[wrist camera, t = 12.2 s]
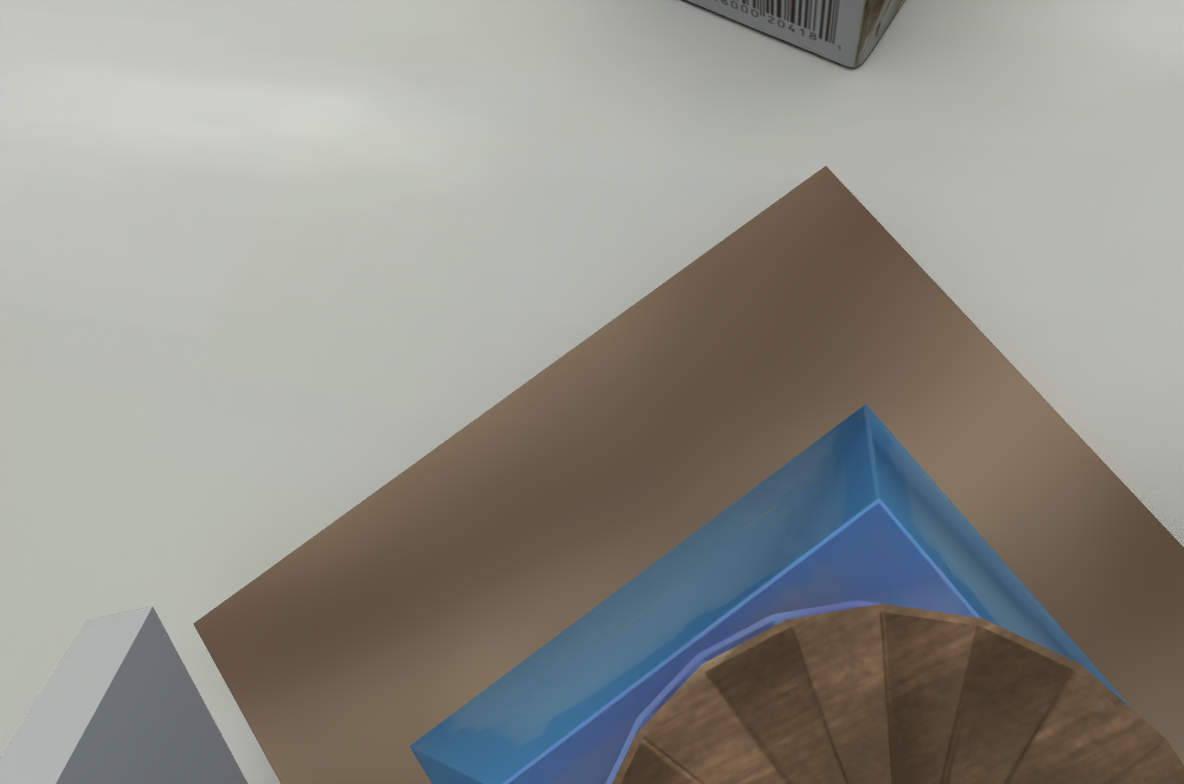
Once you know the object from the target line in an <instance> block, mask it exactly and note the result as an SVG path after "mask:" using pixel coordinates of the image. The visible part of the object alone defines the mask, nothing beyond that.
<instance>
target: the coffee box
mask: <svg viewBox="0 0 1184 784" xmlns="http://www.w3.org/2000/svg"><path fill="white" fill-rule="evenodd" d="M687 1H689V2H692V3H694V4H696V5H699V6H701V7H704V8H706V9H709V10H711V11H713V12H716V13H718V14H721V15H723V16H725V17H728V18H730V19H733V20H735V21H737V22H740V23H742V24H745V25H747V26H749V27H752V28H754V29H757V30H759V31H762V32H764V33H767V34H769V35H772V36H774V37H777V38H779V39H782V40H784V41H787V42H789V43H791V44H794V45H796V46H799V47H801V48H804V49H806V50H808V51H811V52H813V53H816V54H818V55H820V56H823V57H825V58H828V59H830V60H832V61H835V62H837V63H840V64H842V65H844V66H848V67H853V68H855V67H858V66H860V65H861V64H862V63H863V62H864V61H865V59H866V58H867V57H868V55H869V54H870V53H871V51H872V50H873V48H874V46H875V45H876V43H877V42H878V40H879V39H880V37H881V36H882V34H883V33H884V31H885V30H886V28H887V27H888V25H889V24H890V22H891V20H892V19H893V17H894V16H895V14H896V13H897V11H898V10H899V8H900V6H901V5H902V3H903V1H904V0H687Z"/></svg>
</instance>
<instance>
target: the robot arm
mask: <svg viewBox="0 0 1184 784" xmlns="http://www.w3.org/2000/svg"><path fill="white" fill-rule="evenodd" d="M0 784H248V783H247V781H246V780H245V778H244V776H243V774H242V772H241V770H240V768H239V766H238V765H237V763H236V761H235V759H234V757H233V755H232V753H231V752H230V750H229V748H228V746H227V744H226V742H225V740H224V738H223V737H222V735H221V733H220V731H219V729H218V727H217V725H216V724H215V722H214V720H213V718H212V716H211V714H210V712H209V710H208V709H207V707H206V705H205V703H204V701H203V699H202V697H201V696H200V694H199V692H198V690H197V688H196V686H195V684H194V682H193V681H192V679H191V677H190V675H189V673H188V671H187V669H186V668H185V666H184V664H183V662H182V660H181V658H180V656H179V655H178V653H177V651H176V649H175V647H174V645H173V643H172V641H171V640H170V638H169V636H168V634H167V632H166V630H165V628H164V627H163V625H162V623H161V621H160V619H159V617H158V615H157V613H156V612H155V610H154V608H153V606H152V607H148V608H143V609H138V610H133V611H128V612H124V613H119V614H114V615H109V616H105V617H100V618H95V619H90V620H86V622H85V623H84V625H83V627H82V628H81V630H80V631H79V633H78V635H77V636H76V638H75V639H74V641H73V643H72V644H71V646H70V647H69V649H68V651H67V652H66V654H65V655H64V657H63V659H62V660H61V662H60V663H59V665H58V667H57V668H56V670H55V671H54V673H53V675H52V676H51V678H50V679H49V681H48V683H47V684H46V686H45V687H44V689H43V691H42V692H41V694H40V695H39V697H38V699H37V700H36V702H35V703H34V705H33V707H32V708H31V710H30V711H29V713H28V715H27V716H26V718H25V720H24V721H23V723H22V724H21V726H20V728H19V729H18V731H17V732H16V734H15V736H14V737H13V739H12V740H11V742H10V744H9V745H8V747H7V748H6V750H5V752H4V753H3V755H2V756H1V758H0Z"/></svg>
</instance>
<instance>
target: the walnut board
mask: <svg viewBox="0 0 1184 784" xmlns="http://www.w3.org/2000/svg"><path fill="white" fill-rule="evenodd" d="M865 404H867V406H868V407H869V408H870V409H871V410H872V411H873V412H874V414H875V415H876V416H877V417H878V418H879V419H880V421H881V422H882V423H883V424H884V425H885V426H886V427H887V429H888V430H889V431H890V432H891V433H892V434H893V435H894V437H895V438H896V439H897V440H898V441H899V442H900V443H901V445H902V446H903V447H904V448H905V449H906V450H907V451H908V453H909V454H910V455H911V456H912V457H913V458H914V459H915V461H916V462H917V463H918V464H919V465H920V466H921V467H922V469H923V470H924V471H925V472H926V473H927V474H928V476H929V477H930V478H931V479H932V480H933V481H934V482H935V484H936V485H937V486H938V487H939V488H940V489H941V490H942V492H943V493H944V494H945V495H946V496H947V497H948V498H949V500H950V501H951V502H952V503H953V504H954V505H955V506H956V508H957V509H958V510H959V511H960V512H961V513H962V514H963V516H964V517H965V518H966V519H967V520H968V521H969V522H970V524H971V525H972V526H973V527H974V528H975V529H976V531H977V532H978V533H979V534H980V535H981V536H982V537H983V539H984V540H985V541H986V542H987V543H988V544H989V545H990V547H991V548H992V549H993V550H994V551H995V552H996V553H997V555H998V556H999V557H1000V558H1001V559H1002V560H1003V561H1004V563H1005V564H1006V565H1007V566H1008V567H1009V568H1010V569H1011V571H1012V572H1013V573H1014V574H1015V575H1016V576H1017V578H1018V579H1019V580H1020V581H1021V582H1022V583H1023V584H1024V586H1025V587H1026V588H1027V589H1028V590H1029V591H1030V592H1031V594H1032V595H1033V596H1034V597H1035V598H1036V599H1037V600H1038V602H1039V603H1040V604H1041V605H1042V606H1043V607H1044V608H1045V610H1046V611H1047V612H1048V613H1049V614H1050V615H1051V616H1052V618H1053V619H1054V620H1055V621H1056V622H1057V623H1058V624H1059V626H1060V627H1061V628H1062V629H1063V630H1064V631H1065V633H1066V634H1067V635H1068V636H1069V637H1070V638H1071V639H1072V641H1073V642H1074V643H1075V644H1076V645H1077V646H1078V647H1079V649H1080V650H1081V651H1082V652H1083V653H1084V654H1085V655H1086V657H1087V658H1088V659H1089V660H1090V661H1091V662H1092V663H1093V665H1094V666H1095V667H1096V668H1097V669H1098V670H1099V671H1100V673H1101V674H1102V675H1103V676H1104V677H1105V678H1106V679H1107V681H1108V682H1109V683H1110V684H1111V685H1112V686H1113V688H1114V689H1115V690H1116V691H1117V692H1118V693H1119V694H1120V696H1121V697H1122V698H1123V699H1124V700H1125V701H1126V702H1127V704H1128V705H1129V706H1130V707H1131V708H1132V709H1133V710H1134V711H1135V712H1136V713H1137V714H1138V715H1139V716H1140V717H1142V718H1143V719H1144V720H1145V721H1146V722H1147V723H1148V724H1150V725H1151V726H1152V727H1153V728H1154V729H1155V730H1156V731H1158V732H1159V733H1160V734H1161V735H1162V736H1163V737H1164V738H1166V739H1167V741H1168V742H1169V744H1170V745H1171V747H1172V748H1173V750H1174V751H1175V753H1176V754H1177V756H1178V757H1179V759H1180V760H1181V762H1182V763H1183V765H1184V547H1183V546H1182V545H1181V544H1180V543H1179V542H1178V541H1177V540H1176V539H1175V538H1174V537H1173V536H1172V535H1171V534H1170V532H1169V531H1168V530H1167V529H1166V528H1165V527H1164V526H1163V525H1162V524H1161V523H1160V522H1159V521H1158V520H1157V519H1156V518H1155V516H1154V515H1153V514H1152V513H1151V512H1150V511H1149V510H1148V509H1147V508H1146V507H1145V506H1144V505H1143V504H1142V503H1141V502H1140V500H1139V499H1138V498H1137V497H1136V496H1135V495H1134V494H1133V493H1132V492H1131V491H1130V490H1129V489H1128V488H1127V487H1126V486H1125V484H1124V483H1123V482H1122V481H1121V480H1120V479H1119V478H1118V477H1117V476H1116V475H1115V474H1114V473H1113V472H1112V471H1111V470H1110V468H1109V467H1108V466H1107V465H1106V464H1105V463H1104V462H1103V461H1102V460H1101V459H1100V458H1099V457H1098V456H1097V455H1096V454H1095V452H1094V451H1093V450H1092V449H1091V448H1090V447H1089V446H1088V445H1087V444H1086V443H1085V442H1084V441H1083V440H1082V439H1081V438H1080V436H1079V435H1078V434H1077V433H1076V432H1075V431H1074V430H1073V429H1072V428H1071V427H1070V426H1069V425H1068V424H1067V423H1066V422H1065V420H1064V419H1063V418H1062V417H1061V416H1060V415H1059V414H1058V413H1057V412H1056V411H1055V410H1054V409H1053V408H1052V407H1051V406H1050V404H1049V403H1048V402H1047V401H1046V400H1045V399H1044V398H1043V397H1042V396H1041V395H1040V394H1039V393H1038V392H1037V391H1036V390H1035V388H1034V387H1033V386H1032V385H1031V384H1030V383H1029V382H1028V381H1027V380H1026V379H1025V378H1024V377H1023V376H1022V375H1021V374H1020V372H1019V371H1018V370H1017V369H1016V368H1015V367H1014V366H1013V365H1012V364H1011V363H1010V362H1009V361H1008V360H1007V359H1006V358H1005V356H1004V355H1003V354H1002V353H1001V352H1000V351H999V350H998V349H997V348H996V347H995V346H994V345H993V344H992V343H991V342H990V340H989V339H988V338H987V337H986V336H985V335H984V334H983V333H982V332H981V331H980V330H979V329H978V328H977V327H976V326H975V324H974V323H973V322H972V321H971V320H970V319H969V318H968V317H967V316H966V315H965V314H964V313H963V312H962V311H961V310H960V308H959V307H958V306H957V305H956V304H955V303H954V302H953V301H952V300H951V299H950V298H949V297H948V296H947V295H946V293H945V292H944V291H943V290H942V289H941V288H940V287H939V286H938V285H937V284H936V283H935V282H934V281H933V280H932V279H931V277H930V276H929V275H928V274H927V273H926V272H925V271H924V270H923V269H922V268H921V267H920V266H919V265H918V264H917V263H916V261H915V260H914V259H913V258H912V257H911V256H910V255H909V254H908V253H907V252H906V251H905V250H904V249H903V248H902V247H901V245H900V244H899V243H898V242H897V241H896V240H895V239H894V238H893V237H892V236H891V235H890V234H889V233H888V232H887V231H886V229H885V228H884V227H883V226H882V225H881V224H880V223H879V222H878V221H877V220H876V219H875V218H874V217H873V216H872V215H871V213H870V212H869V211H868V210H867V209H866V208H865V207H864V206H863V205H862V204H861V203H860V202H859V201H858V200H857V199H856V197H855V196H854V195H853V194H852V193H851V192H850V191H849V190H848V189H847V188H846V187H845V186H844V185H843V184H842V183H841V181H840V180H839V179H838V178H837V177H836V176H835V175H834V174H833V173H832V172H831V171H830V170H829V169H828V168H827V167H826V166H825V167H824V168H822V169H821V170H819V171H818V172H817V173H815V174H814V175H812V176H811V177H810V178H808V179H807V180H806V181H804V182H803V183H801V184H800V185H799V186H797V187H796V188H795V189H793V190H792V191H790V192H789V193H788V194H786V195H785V196H783V197H782V198H781V199H779V200H778V201H777V202H775V203H774V204H772V205H771V206H770V207H768V208H767V209H766V210H764V211H763V212H761V213H760V214H759V215H757V216H756V217H754V218H753V219H752V220H750V221H749V222H748V223H746V224H745V225H743V226H742V227H741V228H739V229H738V230H737V231H735V232H734V233H732V234H731V235H730V236H728V237H727V238H725V239H724V240H723V241H721V242H720V243H719V244H717V245H716V246H714V247H713V248H712V249H710V250H709V251H708V252H706V253H705V254H703V255H702V256H701V257H699V258H698V259H696V260H695V261H694V262H692V263H691V264H690V265H688V266H687V267H685V268H684V269H683V270H681V271H680V272H679V273H677V274H676V275H674V276H673V277H672V278H670V279H669V280H667V281H666V282H665V283H663V284H662V285H661V286H659V287H658V288H656V289H655V290H654V291H652V292H651V293H650V294H648V295H647V296H645V297H644V298H643V299H641V300H640V301H638V302H637V303H636V304H634V305H633V306H632V307H630V308H629V309H627V310H626V311H625V312H623V313H622V314H621V315H619V316H618V317H616V318H615V319H614V320H612V321H611V322H609V323H608V324H607V325H605V326H604V327H603V328H601V329H600V330H598V331H597V332H596V333H594V334H593V335H592V336H590V337H589V338H587V339H586V340H585V341H583V342H582V343H580V344H579V345H578V346H576V347H575V348H574V349H572V350H571V351H569V352H568V353H567V354H565V355H564V356H563V357H561V358H560V359H558V360H557V361H556V362H554V363H553V364H551V365H550V366H549V367H547V368H546V369H545V370H543V371H542V372H540V373H539V374H538V375H536V376H535V377H534V378H532V379H531V380H529V381H528V382H527V383H525V384H524V385H522V386H521V387H520V388H518V389H517V390H516V391H514V392H513V393H511V394H510V395H509V396H507V397H506V398H505V399H503V400H502V401H500V402H499V403H498V404H496V405H495V406H493V407H492V408H491V409H489V410H488V411H487V412H485V413H484V414H482V415H481V416H480V417H478V418H477V419H476V420H474V421H473V422H471V423H470V424H469V425H467V426H466V427H464V428H463V429H462V430H460V431H459V432H458V433H456V434H455V435H453V436H452V437H451V438H449V439H448V440H447V441H445V442H444V443H442V444H441V445H440V446H438V447H437V448H435V449H434V450H433V451H431V452H430V453H429V454H427V455H426V456H424V457H423V458H422V459H420V460H419V461H418V462H416V463H415V464H413V465H412V466H411V467H409V468H408V469H406V470H405V471H404V472H402V473H401V474H400V475H398V476H397V477H395V478H394V479H393V480H391V481H390V482H389V483H387V484H386V485H384V486H383V487H382V488H380V489H379V490H377V491H376V492H375V493H373V494H372V495H371V496H369V497H368V498H366V499H365V500H364V501H362V502H361V503H360V504H358V505H357V506H355V507H354V508H353V509H351V510H350V511H348V512H347V513H346V514H344V515H343V516H342V517H340V518H339V519H337V520H336V521H335V522H333V523H332V524H331V525H329V526H328V527H326V528H325V529H324V530H322V531H321V532H319V533H318V534H317V535H315V536H314V537H313V538H311V539H310V540H308V541H307V542H306V543H304V544H303V545H302V546H300V547H299V548H297V549H296V550H295V551H293V552H292V553H290V554H289V555H288V556H286V557H285V558H284V559H282V560H281V561H279V562H278V563H277V564H275V565H274V566H272V567H271V568H270V569H268V570H267V571H266V572H264V573H263V574H261V575H260V576H259V577H257V578H256V579H255V580H253V581H252V582H250V583H249V584H248V585H246V586H245V587H243V588H242V589H241V590H239V591H238V592H237V593H235V594H234V595H232V596H231V597H230V598H228V599H227V600H226V601H224V602H223V603H221V604H220V605H219V606H217V607H216V608H214V609H213V610H212V611H210V612H209V613H208V614H206V615H205V616H203V617H202V618H201V619H199V620H198V621H197V622H195V623H194V626H195V627H196V629H197V631H198V633H199V635H200V637H201V638H202V640H203V642H204V644H205V646H206V648H207V649H208V651H209V653H210V655H211V657H212V659H213V660H214V662H215V664H216V666H217V668H218V670H219V671H220V673H221V675H222V677H223V679H224V680H225V682H226V684H227V686H228V688H229V690H230V691H231V693H232V695H233V697H234V699H235V701H236V702H237V704H238V706H239V708H240V710H241V712H242V713H243V715H244V717H245V719H246V721H247V723H248V724H249V726H250V728H251V730H252V732H253V734H254V735H255V737H256V739H257V741H258V743H259V744H260V746H261V748H262V750H263V752H264V754H265V755H266V757H267V759H268V761H269V763H270V765H271V766H272V768H273V770H274V772H275V774H276V776H277V777H278V779H279V781H280V783H281V784H432V783H431V781H430V780H429V778H428V776H427V775H426V773H425V771H424V770H423V768H422V766H421V765H420V763H419V761H418V760H417V758H416V756H415V755H414V753H413V752H412V750H411V748H410V747H409V746H410V745H412V744H413V743H414V742H416V741H417V740H418V739H420V738H421V737H422V736H424V735H425V734H426V733H428V732H429V731H430V730H432V729H433V728H434V727H436V726H437V725H438V724H440V723H441V722H442V721H444V720H445V719H446V718H448V717H449V716H450V715H452V714H453V713H454V712H456V711H457V710H458V709H460V708H461V707H462V706H464V705H465V704H466V703H468V702H469V701H470V700H472V699H473V698H474V697H476V696H477V695H478V694H480V693H481V692H482V691H484V690H485V689H486V688H488V687H489V686H490V685H492V684H493V683H494V682H496V681H497V680H498V679H500V678H501V677H502V676H504V675H505V674H506V673H508V672H509V671H510V670H512V669H513V668H514V667H516V666H517V665H518V664H520V663H521V662H522V661H524V660H525V659H526V658H528V657H529V656H530V655H532V654H533V653H534V652H536V651H537V650H538V649H540V648H541V647H542V646H544V645H545V644H546V643H548V642H549V641H550V640H552V639H553V638H554V637H556V636H557V635H558V634H560V633H561V632H562V631H564V630H565V629H566V628H568V627H569V626H570V625H572V624H573V623H574V622H576V621H577V620H578V619H580V618H581V617H582V616H584V615H585V614H586V613H588V612H589V611H590V610H592V609H593V608H594V607H596V606H597V605H598V604H600V603H601V602H602V601H604V600H605V599H606V598H608V597H609V596H610V595H612V594H613V593H614V592H616V591H617V590H618V589H620V588H621V587H622V586H624V585H625V584H626V583H628V582H629V581H630V580H632V579H633V578H634V577H636V576H637V575H638V574H640V573H641V572H642V571H644V570H645V569H646V568H648V567H649V566H650V565H652V564H653V563H654V562H656V561H657V560H658V559H660V558H661V557H662V556H664V555H665V554H666V553H668V552H669V551H670V550H672V549H673V548H674V547H675V546H677V545H678V544H679V543H681V542H682V541H683V540H685V539H686V538H687V537H689V536H690V535H691V534H693V533H694V532H695V531H697V530H698V529H699V528H701V527H702V526H703V525H705V524H706V523H707V522H709V521H710V520H711V519H713V518H714V517H715V516H717V515H718V514H719V513H721V512H722V511H723V510H725V509H726V508H727V507H729V506H730V505H731V504H733V503H734V502H735V501H737V500H738V499H739V498H741V497H742V496H743V495H745V494H746V493H747V492H749V491H750V490H751V489H753V488H754V487H755V486H757V485H758V484H759V483H761V482H762V481H763V480H765V479H766V478H767V477H769V476H770V475H771V474H773V473H774V472H775V471H777V470H778V469H779V468H781V467H782V466H783V465H785V464H786V463H787V462H789V461H790V460H791V459H793V458H794V457H795V456H797V455H798V454H799V453H801V452H802V451H803V450H805V449H806V448H807V447H809V446H810V445H811V444H813V443H814V442H815V441H817V440H818V439H819V438H821V437H822V436H823V435H825V434H826V433H827V432H829V431H830V430H831V429H833V428H834V427H835V426H837V425H838V424H839V423H841V422H842V421H843V420H845V419H846V418H847V417H849V416H850V415H851V414H853V413H854V412H855V411H857V410H858V409H859V408H861V407H862V406H863V405H865Z"/></svg>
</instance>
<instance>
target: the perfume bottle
mask: <svg viewBox="0 0 1184 784" xmlns="http://www.w3.org/2000/svg"><path fill="white" fill-rule="evenodd" d="M409 747H410V748H411V750H412V752H413V753H414V755H415V756H416V758H417V760H418V761H419V763H420V765H421V766H422V768H423V770H424V771H425V773H426V775H427V776H428V778H429V780H430V781H431V783H432V784H1184V765H1183V763H1182V762H1181V760H1180V759H1179V757H1178V756H1177V754H1176V753H1175V751H1174V750H1173V748H1172V747H1171V745H1170V744H1169V742H1168V741H1167V739H1166V738H1164V737H1163V736H1162V735H1161V734H1160V733H1159V732H1158V731H1156V730H1155V729H1154V728H1153V727H1152V726H1151V725H1150V724H1148V723H1147V722H1146V721H1145V720H1144V719H1143V718H1142V717H1140V716H1139V715H1138V714H1137V713H1136V712H1135V711H1134V710H1133V709H1132V708H1131V707H1130V706H1129V705H1128V704H1127V702H1126V701H1125V700H1124V699H1123V698H1122V697H1121V696H1120V694H1119V693H1118V692H1117V691H1116V690H1115V689H1114V688H1113V686H1112V685H1111V684H1110V683H1109V682H1108V681H1107V679H1106V678H1105V677H1104V676H1103V675H1102V674H1101V673H1100V671H1099V670H1098V669H1097V668H1096V667H1095V666H1094V665H1093V663H1092V662H1091V661H1090V660H1089V659H1088V658H1087V657H1086V655H1085V654H1084V653H1083V652H1082V651H1081V650H1080V649H1079V647H1078V646H1077V645H1076V644H1075V643H1074V642H1073V641H1072V639H1071V638H1070V637H1069V636H1068V635H1067V634H1066V633H1065V631H1064V630H1063V629H1062V628H1061V627H1060V626H1059V624H1058V623H1057V622H1056V621H1055V620H1054V619H1053V618H1052V616H1051V615H1050V614H1049V613H1048V612H1047V611H1046V610H1045V608H1044V607H1043V606H1042V605H1041V604H1040V603H1039V602H1038V600H1037V599H1036V598H1035V597H1034V596H1033V595H1032V594H1031V592H1030V591H1029V590H1028V589H1027V588H1026V587H1025V586H1024V584H1023V583H1022V582H1021V581H1020V580H1019V579H1018V578H1017V576H1016V575H1015V574H1014V573H1013V572H1012V571H1011V569H1010V568H1009V567H1008V566H1007V565H1006V564H1005V563H1004V561H1003V560H1002V559H1001V558H1000V557H999V556H998V555H997V553H996V552H995V551H994V550H993V549H992V548H991V547H990V545H989V544H988V543H987V542H986V541H985V540H984V539H983V537H982V536H981V535H980V534H979V533H978V532H977V531H976V529H975V528H974V527H973V526H972V525H971V524H970V522H969V521H968V520H967V519H966V518H965V517H964V516H963V514H962V513H961V512H960V511H959V510H958V509H957V508H956V506H955V505H954V504H953V503H952V502H951V501H950V500H949V498H948V497H947V496H946V495H945V494H944V493H943V492H942V490H941V489H940V488H939V487H938V486H937V485H936V484H935V482H934V481H933V480H932V479H931V478H930V477H929V476H928V474H927V473H926V472H925V471H924V470H923V469H922V467H921V466H920V465H919V464H918V463H917V462H916V461H915V459H914V458H913V457H912V456H911V455H910V454H909V453H908V451H907V450H906V449H905V448H904V447H903V446H902V445H901V443H900V442H899V441H898V440H897V439H896V438H895V437H894V435H893V434H892V433H891V432H890V431H889V430H888V429H887V427H886V426H885V425H884V424H883V423H882V422H881V421H880V419H879V418H878V417H877V416H876V415H875V414H874V412H873V411H872V410H871V409H870V408H869V407H868V406H867V404H865V405H863V406H862V407H861V408H859V409H858V410H857V411H855V412H854V413H853V414H851V415H850V416H849V417H847V418H846V419H845V420H843V421H842V422H841V423H839V424H838V425H837V426H835V427H834V428H833V429H831V430H830V431H829V432H827V433H826V434H825V435H823V436H822V437H821V438H819V439H818V440H817V441H815V442H814V443H813V444H811V445H810V446H809V447H807V448H806V449H805V450H803V451H802V452H801V453H799V454H798V455H797V456H795V457H794V458H793V459H791V460H790V461H789V462H787V463H786V464H785V465H783V466H782V467H781V468H779V469H778V470H777V471H775V472H774V473H773V474H771V475H770V476H769V477H767V478H766V479H765V480H763V481H762V482H761V483H759V484H758V485H757V486H755V487H754V488H753V489H751V490H750V491H749V492H747V493H746V494H745V495H743V496H742V497H741V498H739V499H738V500H737V501H735V502H734V503H733V504H731V505H730V506H729V507H727V508H726V509H725V510H723V511H722V512H721V513H719V514H718V515H717V516H715V517H714V518H713V519H711V520H710V521H709V522H707V523H706V524H705V525H703V526H702V527H701V528H699V529H698V530H697V531H695V532H694V533H693V534H691V535H690V536H689V537H687V538H686V539H685V540H683V541H682V542H681V543H679V544H678V545H677V546H675V547H674V548H673V549H672V550H670V551H669V552H668V553H666V554H665V555H664V556H662V557H661V558H660V559H658V560H657V561H656V562H654V563H653V564H652V565H650V566H649V567H648V568H646V569H645V570H644V571H642V572H641V573H640V574H638V575H637V576H636V577H634V578H633V579H632V580H630V581H629V582H628V583H626V584H625V585H624V586H622V587H621V588H620V589H618V590H617V591H616V592H614V593H613V594H612V595H610V596H609V597H608V598H606V599H605V600H604V601H602V602H601V603H600V604H598V605H597V606H596V607H594V608H593V609H592V610H590V611H589V612H588V613H586V614H585V615H584V616H582V617H581V618H580V619H578V620H577V621H576V622H574V623H573V624H572V625H570V626H569V627H568V628H566V629H565V630H564V631H562V632H561V633H560V634H558V635H557V636H556V637H554V638H553V639H552V640H550V641H549V642H548V643H546V644H545V645H544V646H542V647H541V648H540V649H538V650H537V651H536V652H534V653H533V654H532V655H530V656H529V657H528V658H526V659H525V660H524V661H522V662H521V663H520V664H518V665H517V666H516V667H514V668H513V669H512V670H510V671H509V672H508V673H506V674H505V675H504V676H502V677H501V678H500V679H498V680H497V681H496V682H494V683H493V684H492V685H490V686H489V687H488V688H486V689H485V690H484V691H482V692H481V693H480V694H478V695H477V696H476V697H474V698H473V699H472V700H470V701H469V702H468V703H466V704H465V705H464V706H462V707H461V708H460V709H458V710H457V711H456V712H454V713H453V714H452V715H450V716H449V717H448V718H446V719H445V720H444V721H442V722H441V723H440V724H438V725H437V726H436V727H434V728H433V729H432V730H430V731H429V732H428V733H426V734H425V735H424V736H422V737H421V738H420V739H418V740H417V741H416V742H414V743H413V744H412V745H410V746H409Z"/></svg>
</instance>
